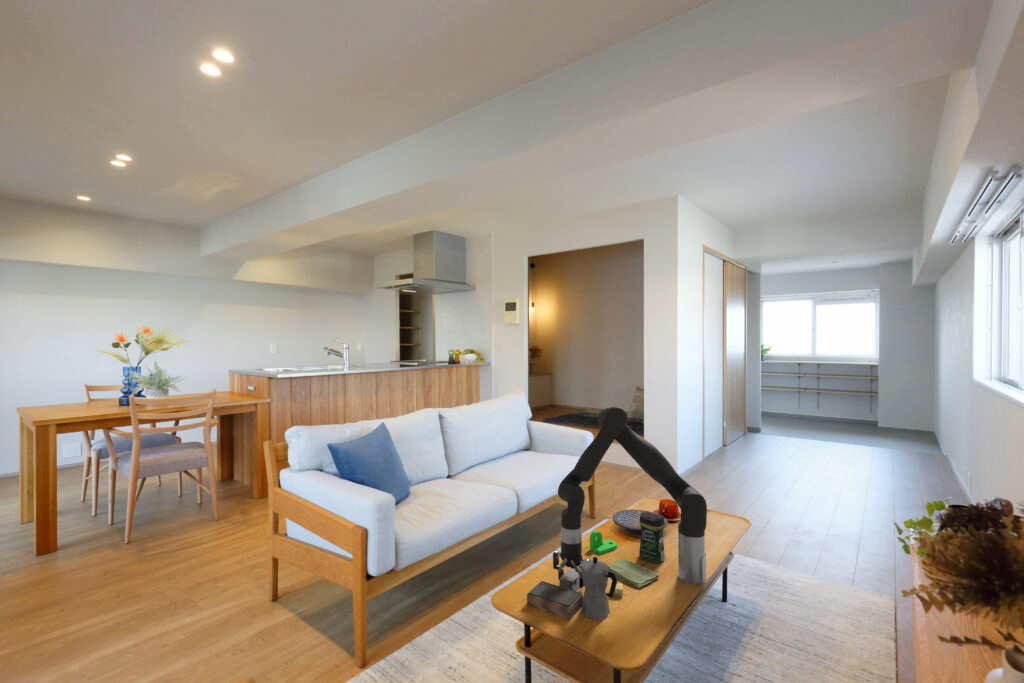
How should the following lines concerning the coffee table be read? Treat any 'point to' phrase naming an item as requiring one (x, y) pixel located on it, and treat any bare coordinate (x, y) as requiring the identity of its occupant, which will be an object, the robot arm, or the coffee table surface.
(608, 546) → the mechanical part
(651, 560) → the coffee jar
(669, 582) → the coffee table surface
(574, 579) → the block
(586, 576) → the coffeepot
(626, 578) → the washcloth
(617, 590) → the brass block
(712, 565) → the coffee table surface
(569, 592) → the stand
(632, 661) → the coffee table surface
